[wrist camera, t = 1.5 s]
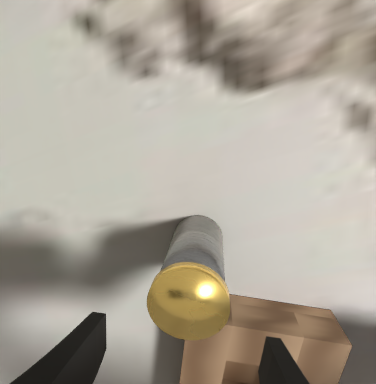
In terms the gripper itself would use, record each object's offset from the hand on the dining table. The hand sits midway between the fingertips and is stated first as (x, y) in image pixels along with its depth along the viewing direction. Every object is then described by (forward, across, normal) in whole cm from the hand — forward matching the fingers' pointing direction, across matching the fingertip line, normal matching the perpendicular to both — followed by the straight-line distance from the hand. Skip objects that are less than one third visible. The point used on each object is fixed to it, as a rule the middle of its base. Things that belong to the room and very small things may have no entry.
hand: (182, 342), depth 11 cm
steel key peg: (+10, 0, 0) cm, 10 cm away
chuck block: (+10, -6, +11) cm, 16 cm away
